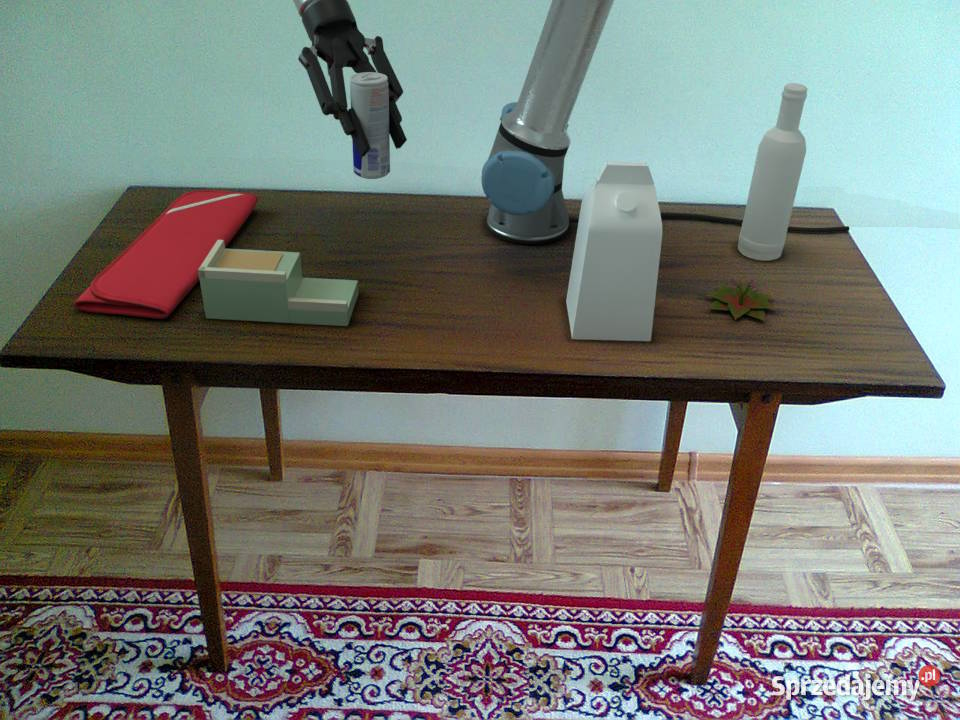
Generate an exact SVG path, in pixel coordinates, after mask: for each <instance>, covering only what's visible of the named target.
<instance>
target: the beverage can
mask: <svg viewBox="0 0 960 720" xmlns="http://www.w3.org/2000/svg"><path fill="white" fill-rule="evenodd" d="M376 72H377V71H376ZM376 72H363V73H355V74H352V75H351V76H350V77H349V90H350V91H349V97H350V108H354V110H355V112H356V115H357V117H358V119H359V122H360V124H361V126H362V129H363V131H364V133H365V136H366V138H367V140H368V143H369V145H370V147H371V148H370V150H369V151H368V152H367V154H366V155H365V156H363V157H360V156H359V153H358V151H357V149H356V146H355V144H354V142H353V139H352V138H351V141H352V142H351V143H352V163H353V165H352V166H353V173H354V174H355V175H356V176H357V177H359V178H361V179H362V178H363V179H366V180H378V179H381V178H385V177H386V176H388V175H389V174H390V172H391V147H390V146H391V145H390V144H391V142H390V138H391V136H390V134H389V88H388V81H387V80H388V77H387V76H386V75H384V74H381V73H378V72H377V73H376Z"/></svg>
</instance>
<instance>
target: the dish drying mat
mask: <svg viewBox="0 0 960 720" xmlns="http://www.w3.org/2000/svg"><path fill="white" fill-rule="evenodd" d="M258 202H259V196H258V195H256V194H253V193H250V192H239V191H231V190H230V191H229V190H218V189H217V190H216V189H199V190H194V191H193V190H192V191H185V192H184V193H183V194H182V195H180V196H179V197H177V198H176V199H175V200H174V201H173V202H171V204H170V205H169V206H168V207H167V208H166V209H165V210H164V211H163V212H162V213H161V214H160V215H159V216H158V217H157V218H156V219H155V220H154V221H153V222H151V224H149V226H147V227H146V229H144V231H143V232H141V234H140V235H138V236H137V237H136V238H135V239H134V241H132V242H131V244H129V245H128V246H127V247H126V248H125V249H124V250H123V251H122V252H121V253H120V254H119V255H118V256H117V257H115V258H114V259H113V260H112V262H111V263H109V265H107V266H106V267H105V268H104V269H103V270H101V272H99V273H98V274H97V275H96V276H95V277H94V278H93V279H92V280H91V282H90V286H89V287H88V288H87V289H86V290H84V291H83V293H82V294H81V295H79V297H78V298H77V299H76V300H75V301H74V303H73V305H74V307H75V309H76V310H78V311H80V312H85V313H94V314H95V313H96V314H105V315H118V316H119V315H120V316H128V317H138V318H148V319H156V320H166V319H168V318H169V317H170V315H171V314H172V313H173V312H174V310H176V308H177V307H178V306H179V305H180V303H181V302H182V301H183V300H184V299H185V297H186V296H187V295H188V294H189V293H190V292H191V291H192V289H193V288H194V287H195V286H196V284H197V283H198V282H200V278H199V272H198V269H199V268H200V266H201V265H202V263H203V262H204V260H205V259H206V257H207V255H208V254H209V252H210V251H211V249H212V248H213V246H214V245H215V243H216V242H217V240H224V244H225V248H226V247H227V246H228V245H229V243H230V242H231V241H232V240H233V238H234V237H235V236H236V235H237V233H238V232H239V230H240V229H241V228H242V226H243V225H244V223H245V222H246V221H247V219H248V218H249V216H250V215H251V214H252V213H253V211H254V209H255V207H256V206H257V204H258Z"/></svg>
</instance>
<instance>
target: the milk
mask: <svg viewBox="0 0 960 720" xmlns="http://www.w3.org/2000/svg"><path fill="white" fill-rule="evenodd" d="M660 213H661V209H660V205H659V200H658V194H657V190H656V186H655V182H654V179H653V176H652V173H651V169H650V167H649V165H648V162H647V161H646V162H643V161H641V162H640V161H613V160H612V161H608V160H606V161H605V162H604V164H603V166H602V168H601V169H600V171H599V173H598V175H597V177H596V179H595V180H594V181H593V182H592V184H591V185H590V186H589V188H588V189H587V190H586V191H585V192H584V194H583V196H582V199H581V204H580V210H579V216H578V218H579V222H578V223H577V229H576V235H575V242H574V249H573V253H572V261H571V268H570V274H569V281H568V286H567V292H566V299H565V302H566V310H567V316H568V322H569V329H570V336H571V340H583V341H584V340H586V341H592V340H593V341H621V342H622V341H623V342H624V341H625V342H651V341H652V335H653V323H654V316H655V306H656V298H657V297H656V295H657V287H658V278H659V268H660V261H661V260H660V259H661V250H662V243H663V242H662V241H663V221H662V217H661V215H660Z"/></svg>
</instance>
